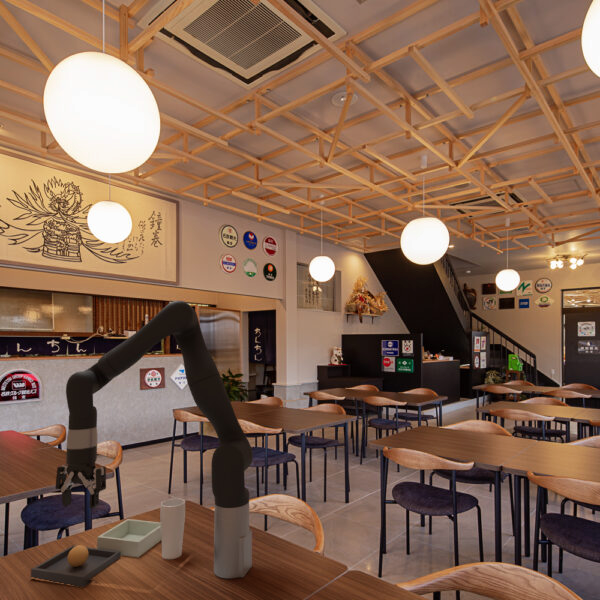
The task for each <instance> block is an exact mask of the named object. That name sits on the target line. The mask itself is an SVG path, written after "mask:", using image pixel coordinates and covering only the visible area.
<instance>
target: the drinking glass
mask: <svg viewBox="0 0 600 600" xmlns="http://www.w3.org/2000/svg"><path fill="white" fill-rule="evenodd" d="M159 517H160V518H159V519H160V521H159V522H160V524H161V557H162V559H165V560H174V559H175V560H176V559H177V558H180V557H181V556H182V554H183V541H184V531H185V519H186V501H185V499H183V498H170V499H166V500H163V501H161V502H160V515H159Z"/></svg>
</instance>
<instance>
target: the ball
mask: <svg viewBox="0 0 600 600" xmlns="http://www.w3.org/2000/svg"><path fill="white" fill-rule="evenodd" d="M75 546H76V547H74V548H73V549H71V551H70V552H69V554H68V563H69V564H70V565H71V566H73V567H79V566H81V565H83V564H84V563H85V562H86V560H87V558H88V549H87V548H86V547H87V546H85V545H81V544H78V545H75Z"/></svg>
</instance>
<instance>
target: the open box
mask: <svg viewBox="0 0 600 600" xmlns="http://www.w3.org/2000/svg"><path fill="white" fill-rule="evenodd" d="M96 540H97V541H96V548H97V549H105V550H112V551H120V552H121V556H124V557H131V558H140V557H141V556H143V554H145V553H146V552H148V551H149V550H150V549H152V548H153V547H154V546H155V545H157V544H158V543H160V542H162V540H161V524H160V521H159V522H158V521H149V520H140V519H132V518H127V519H125V520H124V521H122V522H120V523H119V524H116V525H115V526H114V527H111V529H109V530H107V531H105V532H103V533H102V534H100V535H99V536H97V539H96Z"/></svg>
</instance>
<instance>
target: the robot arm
mask: <svg viewBox="0 0 600 600" xmlns="http://www.w3.org/2000/svg"><path fill="white" fill-rule="evenodd" d="M172 335H173V337H174V339H175V341H176V343H177V345H178V347H179V349H180V352H181V355H182V360H183V367H184V373H185V379H186V382H187V385H188V388H189V391H190V394H191V396H192V398H193V399H192V400H193V401H194V403H195V405H196V406H197V408H198V409H199V410H200V412H201V413H202V414H203V415H204V417H205V418H206V419H207V420H208V422H209V423H210V424H211V426H212V427H213V429H214V431H215V433H216V436H217V439H218V441H219V445H218V446H217V447H216V448H215V450H214V451H213V453H212V457H211V468H210V469H211V491H212V494H213V496H214V497H213V498H214V522H213V523H214V526H213V527H214V529H213V530H214V534H213V573H214V575H215V576H216V577H218V578H222V579H236V578H244V577H246V574H247V573H248V572H249V570H250V569H251V568H252V567H253V561H252V559H253V552H252V551H253V530H252V528H251V529H250V491H249V489H248V488H246V486H245V485H246V483H245V471H246V470H248V469H249V467H250V466H251V464H252V463H253V458H254V453H253V449H252V445H251V444H250V441H249V440H248V438H247V435H246V434H245V432H244V430H243V428H242V426H241V424H240V422H239V420H238V418H237V415H236V414H235V410H234V407H233V405H232V403H231V400H230V397H229V395H228V393H227V389H226V386H225V384H224V380H223V379H222V377H221V373H220V371H219V369H218V367H217V365H216V362H215V360H214V358H213V356H212V354H211V352H210V350H209V349H208V347H207V345H206V341H205V340H204V336H203V332H202V330H201V325H200V321H199V317H198V314H197V312H196V310H195V309H194V308H193V307H192V306H191V305H190V304H189V303H187V302H186V301H183V300H173V301H171V302H169V303H168V304H167V305H165V307H163V308H162V309H161V310H160V311H159V312H158V313H156V315H155V316H153V317H152V319H151V320H149V321H148V322H147V323H146V324H144V325H143V326H142V327H141V328H140V329H138V330H137V331H136V332H135V333H134V334H132V335H131V336H130V337H128V338H127V339H125V340H124V341H122V342H121V343H120V344H118V345H117V346H115V347H113V348H112V349H110V350H109V351H108V352H106V353H105V354H104V355H102V356H101V357H100V358H99V359H98V360H97V362H96V363H95V364H93V365H92V366H90V367H89V368H86V370H83V371H77V372H74V373H72V374H71V375H70V376H69V378H68V380H67V382H66V386H65V396H66V403H67V408H68V430H67V436H66V451H65V453H66V456H65V463H66V464H62V465H60V466H57V468H56V478H55V489H56V490H59V491H61V495H62V496H61V504H62V506H63V507H68V506H71V504H72V490H71V489H72V488H73V486H74V485H77V484H78V485H84V487H85V488H86V489H87V490H88V491H89V493H90V494H89V509H95V508H96V507H98V505H99V501H100V499H99V498H100V492H102V491H104V490H106V489H107V475H106V474H107V473H106V472H107V469H106V467H105V466H102V467H96V461H97V459H98V429H97V426H98V411H97V410H98V409H97V407H96V406H95V405H94V394H96V393H97V392H99V391H100V390H102V389H104V387H106V385H108V383H109V384H110V382H111V381H112V380H114V379H115V378H116V377H118V376H120V375H121V374H122V373H124V372H125V371H127V370H128V369H131V367H132V366H134V365H135V364H136V363H137V362H140V360H141V359H142V358H143V357H144V356H145V355H146V354H147V353H148V352H149V351H150V350H151V349H152V348H153V347H154V346H156V344H158V343H159V342H161V341H162V340H164V339H167V338H168V337H170V336H172Z"/></svg>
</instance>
